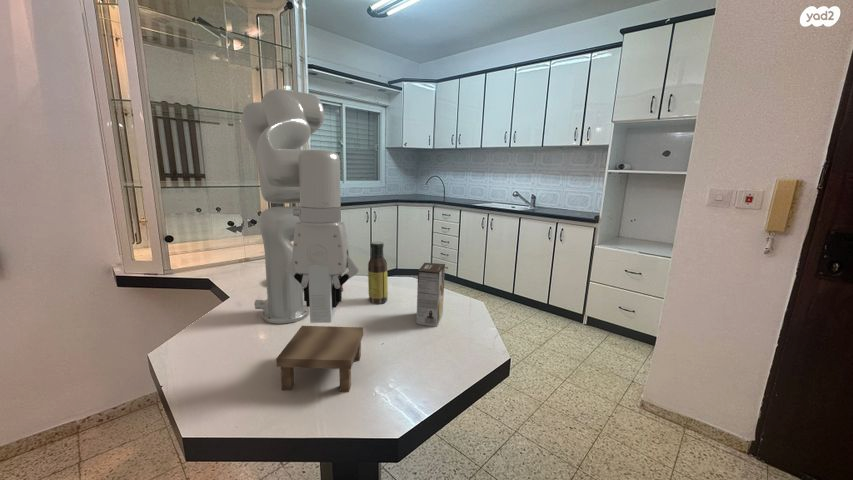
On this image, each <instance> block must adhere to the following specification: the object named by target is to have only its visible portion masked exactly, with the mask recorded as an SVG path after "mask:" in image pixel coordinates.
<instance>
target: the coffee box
mask: <svg viewBox="0 0 853 480" xmlns="http://www.w3.org/2000/svg"><path fill="white" fill-rule="evenodd" d="M445 268H446V264H445V263H435V262H424V263H423V264H422V266H421V267H420V268H419V269H418V270H417V292H416V293H417V295H416V298H417V299H416V324H417V325H421V326H430V327H438V326H439V325H440V322H441V319H442V317H443V314H444V293H445V288H444V287H445V271H446V269H445Z"/></svg>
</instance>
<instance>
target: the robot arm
mask: <svg viewBox="0 0 853 480" xmlns="http://www.w3.org/2000/svg"><path fill="white" fill-rule="evenodd" d="M324 120H325V109H324V105H323V103H322V101H321V100H320V98H319V97H317V96H316V95H314V94H312V93H306V92H300V91H293V90H289V89H279V88H278V89H277V88H276V89H272V90H269V91H267V92H266V93H265V94H263V96H262V99H261V101H254V102H250V103H247V104H246V105H245V106H244V107H243V109H242V124H243V128H244V132H245V135H246V138H247V140H248V143H249V144H250V146H251V148H252V151H253V152H254V153H253V154H254V155H255V159H256V168H257V173H258V180H259V187H260V193H261V196H262V198H263V200H264V201H266V202H267V203H270V204H299V206H295V205H294V206H293V205H289V206H273V207H268V208H266V209H264V210H263V211H262V212H261V213H260V215H259V219H258V225H259V229H260V233H261V239H262V243H263V250H264V251H263V252H264V261H265V262H264V263H265V280H266V297H267V299H265V300H264V299H255V301H254V309H255V310H263V312H262V314H261V315H262V319H263V321H265V322H267V323H270V324H277V325H278V324H279V325H280V324H283V325H284V324H290V323H295V322H298V321H301V320H303V319H305V318H306V317H307V316H308V315H310V305H309V280H308V264H320V265H329V274H330V275H331V276H332V279H333V283H334V287H333V288H332V307H334V308H336V309H337V306H338V305H339V303H342V297H343V296H342V288H341V286H342V285H344V284H345V283H346V282H347V281H348V280H350V279H351V278H353V277H354V276H356V275H358V273H359V268H358V267H357V265H356V264H355V262H353V260H352V259H351V257H350V253H349V243H348V235H347V231H346V230H347V229H346V226H345V225H346V224H345V223H344V221H342V209H341V208H342V207H341V206H342V205H341V202H342V201H341V158H340V156H339V154H338V153H337V152H335V151H332V150H324V149H299V148H301V147H303V146H304V145H306V144H307V142H308V141H309V139H310V137H311V136H312V134H314V133H316V132H317V131H318V130H320V128H321V127H322V125H323V123H324ZM292 242H293V243H292ZM347 269H348V271H347V272H346V270H347ZM345 272H346V273H345ZM304 302H306V304H304Z"/></svg>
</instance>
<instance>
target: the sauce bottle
mask: <svg viewBox="0 0 853 480" xmlns="http://www.w3.org/2000/svg"><path fill="white" fill-rule="evenodd" d="M384 246H385V245H384V242H383V241H378V240H377V241H371V242H370V248H371V257H370V259H369V261H368V264H367V277H368V279H367V282H368V301H369V303H371V304H374V305H382V304H385V303H386V302H388V297H389V296H388V293H389V291H388V289H389V287H388V286H389V285H388V284H389V283H388V263H387V260H386V259H385V257H384Z"/></svg>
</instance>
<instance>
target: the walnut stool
mask: <svg viewBox="0 0 853 480" xmlns="http://www.w3.org/2000/svg"><path fill="white" fill-rule="evenodd" d="M363 336H364V327H361V326H329V325H328V326H327V325H326V326H325V325H324V326H323V325H301V326H300V327H299V329H298V330H297V332H295V334H294V335H293V336H292V338H291V339H290V340H289V342H288V343H287V344H286V345H285V346H284V348H283V349H282V350H281V352H280V353H279V354H278V355H277V357H276V367H277V368H280V381H281V391H292V390H293V387H294V386H295V384H296V383H295V368H297V369H299V368H300V369H302V368H303V369H329V370H330V369H332V370H334V369H335V370H336V369H337V370H339V375H338V377H339V392H343V393H344V392H345V393H346V392H348V393H349V392H350V390H351V387H352V370H351V369H352V367H353V364H354V362H355V361H360V360H361V357H362V352H361V351H362V340H363V338H364V337H363Z"/></svg>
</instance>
